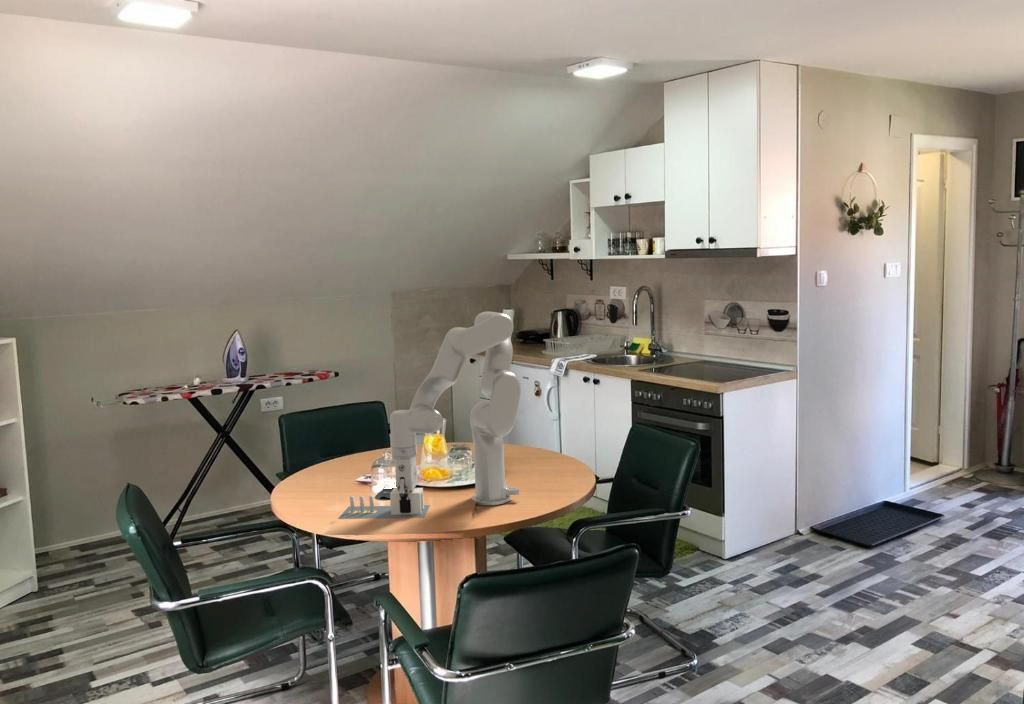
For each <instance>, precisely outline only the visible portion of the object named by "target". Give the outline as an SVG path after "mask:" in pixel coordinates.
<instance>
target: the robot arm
mask: <svg viewBox="0 0 1024 704" xmlns="http://www.w3.org/2000/svg"><path fill="white" fill-rule="evenodd" d="M513 331H514V322H513V319H512V318H511V317H510V315H507V314H505V313H503V312H495V311H483V312H480V313H479V314H477V315H476V316H475V319H474V325H472V326H470V327H462V326H461V327H460V326H457V327H453V328H451V329H449V330H448V332H447V333H446V334H445V336H444V339H443V341H442V344H441V345H440V349H439V350H438V353H437V356H436V359H435V361H434V364H433V365H432V368H431V370H430V372H429V373H428V375H427V376H426V377H425V378H424V379H423V381H422V383H421V384H420V385H419V387H418V388H417V390H416V392H415V393H414V396H413V398H412V401H411V404H410V406H409V409H398V410H394V411H392V412H391V413H389V429H390V445H391V458H392V459H395V461H394V462H395V465H394V466H395V467H394V468H395V481H396V487H397V490H398V491H399V502H400V513H410V512H411V503H410V499H409V490H411V491H412V490H413V489H414V488H416V486H417V485H418V482H419V481H418V480H419V479H418V478H419V477H418V468H417V459H416V457H417V456H418V447H417V434H434V433H436V432H437V431H439V430H441V428H442V426H443V422H444V420H443V419H444V418H443V416H442V414H441V412H439V411H438V410H437V409H434V408H435V405H436V403H437V401H438V400H439V397H441V395H442V394H443V392H444V391H445V390H447V389H449V388H450V387H452V386H453V385H455V383H457V382H458V379H459V377H460V374H461V371H462V369H463V367H464V366H465V362H466V359H467V358H469V357H474V356H477V355H479V354H481V353H483V352H485V356H484V362H483V367H482V371H481V377H480V381H479V389H480V391H481V393H482V395H484V396H485V397H487V398H489V401H480V402H478V403H476V404H475V405H474V406H473V408H472V409H471V410H470V414H469V425H470V430H471V434H472V436H471V437H472V444H473V446H472V447H473V465H474V482H475V483H474V487H475V494H473V495H471V497H470V499H471V500H473V501H474V502H475V505H478V506H498V505H502V504H506V503H508V502H510V501H511V500H512V499H511V495H513V496H520V488H517V487H509V486H508V484H507V483H506V475H505V474H506V473H505V452H504V451H505V450H504V449H505V448H504V447H505V446H504V438H503V437H506V436H508V434H510V432H512V430H513V428H514V425H515V423H516V422H515V421H516V419H517V418H516V417H517V413H518V408H519V402H520V400H521V399H520V398H521V390H522V389H521V388H522V387H521V382H520V380H519V378H518V376H517V375H516V374H515V373H514V372H511V368H512V362H513V354H514V353H513V352H514V351H513V349H514V348H513V343H512V340H511V336H512V334H513ZM404 488H407V490H404ZM405 492H407V494H406V493H405Z"/></svg>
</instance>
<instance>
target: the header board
mask: <svg viewBox="0 0 1024 704" xmlns="http://www.w3.org/2000/svg"><path fill="white" fill-rule="evenodd" d="M368 498H369V500H368V501H369V506H368V505H366V506H365V499H364V495H359V506H355V496H354V495H351V496H349V502H350V503H349V504H350V506H348V507H346V509H345V510H344V511H343V512H342V514H340V516H339V517H338V518H337V519H338V520H345V519H346V520H348V519H349V520H355V519H356V520H357V519H359V520H360V519H363V520H364V519H367V520H368V519H410V518H411V519H412V518H417V519H420V518H425V517H426V514H427V512H428V511H429V509H430V507H431V504H428V505H427V504H426V505H425V504H424V509H423V510H421V514H397V515H391V505H375V504H374V502H375V501H374V495H369V496H368Z"/></svg>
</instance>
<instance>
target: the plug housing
mask: <svg viewBox="0 0 1024 704" xmlns="http://www.w3.org/2000/svg"><path fill="white" fill-rule="evenodd" d="M404 490H407V488H404ZM405 493H406V494H407V492H405ZM409 499H410V503H411V512H410V513H400V502H399V491H398V490H397V488H394V489H393V490H392V492H391V493H390V498H389V500H390V506H391V515H397V514H421V510H423V509H424V505H425V503H424V501H425V500H424V487H415V488H414V489H413V490H412V491H411V490H409Z"/></svg>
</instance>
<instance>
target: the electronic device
mask: <svg viewBox="0 0 1024 704" xmlns="http://www.w3.org/2000/svg"><path fill="white" fill-rule="evenodd" d="M393 489H394V488H392V489H384V488H383V489H381V490H380V491H379V492H378V493H377V494H376V495H375V499H376V500H381V498H382V497H385V498H389V499H390V493H391V492H392V490H393Z"/></svg>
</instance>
